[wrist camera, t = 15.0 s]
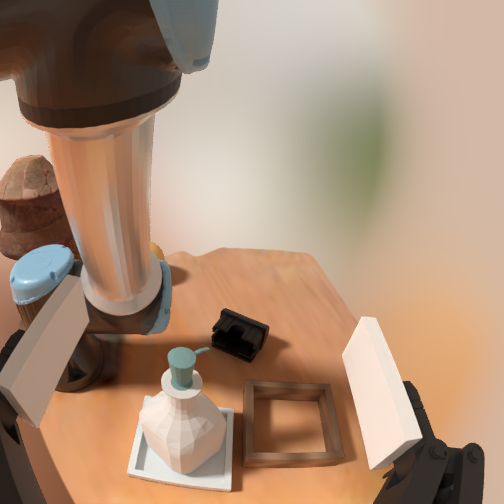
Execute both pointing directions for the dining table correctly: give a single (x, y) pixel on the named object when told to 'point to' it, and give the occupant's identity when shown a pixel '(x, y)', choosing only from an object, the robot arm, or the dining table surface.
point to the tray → (203, 478)
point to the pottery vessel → (31, 208)
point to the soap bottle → (183, 416)
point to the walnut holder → (291, 393)
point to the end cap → (239, 335)
